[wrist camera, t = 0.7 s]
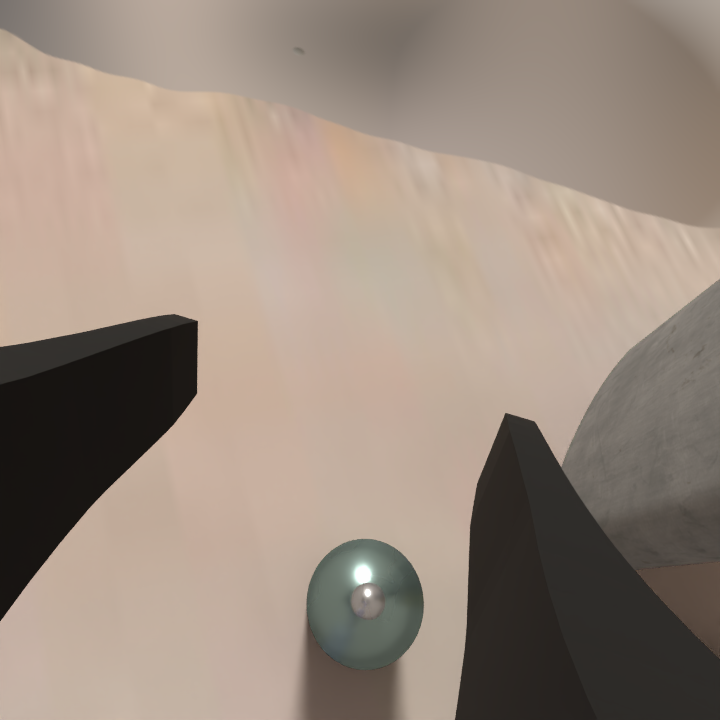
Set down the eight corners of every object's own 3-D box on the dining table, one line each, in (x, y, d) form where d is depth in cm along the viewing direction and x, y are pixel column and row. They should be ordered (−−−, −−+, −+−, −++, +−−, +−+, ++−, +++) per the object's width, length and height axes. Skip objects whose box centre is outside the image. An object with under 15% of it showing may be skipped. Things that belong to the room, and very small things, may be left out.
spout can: (385, 666, 23) (414, 691, 16) (294, 637, 23) (289, 650, 17) (407, 567, 25) (440, 555, 18) (323, 541, 25) (327, 521, 19)
